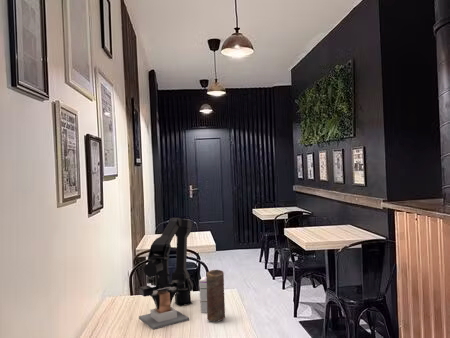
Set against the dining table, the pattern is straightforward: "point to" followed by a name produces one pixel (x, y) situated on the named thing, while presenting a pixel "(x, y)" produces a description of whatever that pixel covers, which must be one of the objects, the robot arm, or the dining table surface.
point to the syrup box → (203, 294)
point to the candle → (215, 295)
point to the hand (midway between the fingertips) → (163, 308)
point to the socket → (163, 318)
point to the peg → (164, 302)
